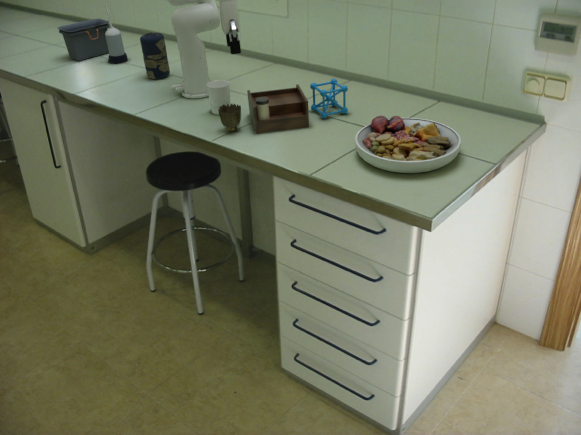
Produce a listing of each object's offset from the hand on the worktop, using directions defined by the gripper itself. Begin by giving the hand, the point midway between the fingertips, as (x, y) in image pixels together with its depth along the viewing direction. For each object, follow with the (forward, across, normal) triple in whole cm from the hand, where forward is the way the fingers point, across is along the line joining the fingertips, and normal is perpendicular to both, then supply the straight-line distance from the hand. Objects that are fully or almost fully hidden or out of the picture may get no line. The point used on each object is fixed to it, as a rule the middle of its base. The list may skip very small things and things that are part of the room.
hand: (234, 49), depth 191 cm
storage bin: (+20, -98, -57) cm, 115 cm away
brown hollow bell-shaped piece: (+24, +9, -5) cm, 26 cm away
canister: (+22, -56, -27) cm, 66 cm away
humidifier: (+21, -84, -44) cm, 97 cm away
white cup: (+23, -9, -6) cm, 26 cm away
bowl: (+25, +42, +43) cm, 65 cm away
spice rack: (+24, +6, +11) cm, 27 cm away
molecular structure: (+24, +4, +30) cm, 38 cm away
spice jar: (+21, +11, +6) cm, 24 cm away
